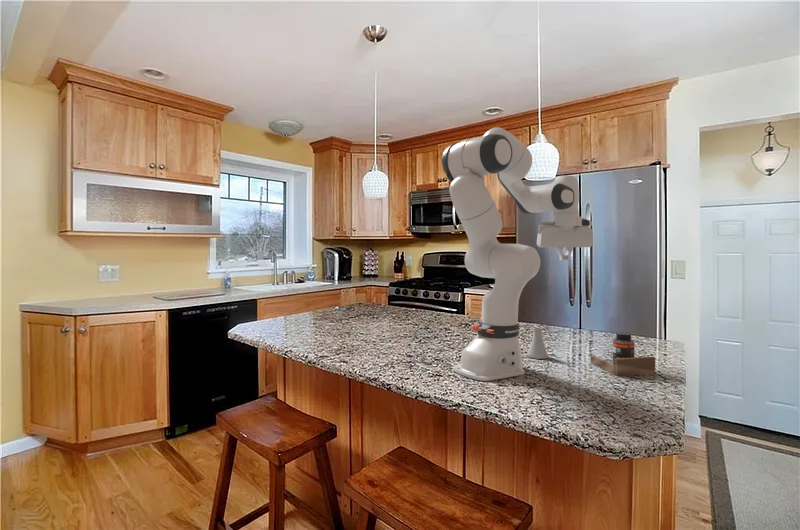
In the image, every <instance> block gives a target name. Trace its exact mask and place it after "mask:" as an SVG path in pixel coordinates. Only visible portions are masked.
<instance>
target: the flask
mask: <svg viewBox="0 0 800 530" xmlns="http://www.w3.org/2000/svg"><path fill="white" fill-rule="evenodd" d="M532 330H533V335H532V341H531V343H530V345H529V348H528V351H527V353H526V356H527V357H528V358H531V359H537V360H543V359H548V358H549V354H548V351H547V350H546V349H547V348H546V346H545V344H544V340H543V335H542V334H543V328H542V327H538V326H537V327H535V326H534V327H532Z"/></svg>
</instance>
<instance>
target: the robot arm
mask: <svg viewBox="0 0 800 530" xmlns="http://www.w3.org/2000/svg"><path fill="white" fill-rule="evenodd" d="M441 163H442V164H441V165H442V169H443V172H444V174H445V175H446V178H447V179H448V181H450V185H449V189H448V190H449V195H450V198H451V202H452V206H453V208H454V211H455V213H456V215H457V217H458V219H459V222H460V223H461V225H462V228H463V230H464V232H465V234H466V236H467V239H468V249H467V251H466V253H465V255H464V266H465V268H466V270H467V271H468V272H469V273H470V274H472V275H474V276H476V277H480V278H488V279H494V281H495V282H494V285H493V288H492V289H491V290H490V291H488V292H486V293H485V294H484V295H483V297H482V299H481V321H480V323H479V324H472V326H471V331H472V332H477V334H476V336H475V337H474V338H473V339H472V340H471V341H470V343H468V344H467V346H465V348H463V349H462V351H461V357H460V363H457V364H455V365H453V366H452V370H453V371H454V372H455V373H456V374H459V375H461V376H463V377H466V378H469V379H473V380H477V381H482V382H483V381H484V382H490V381H495V380H499V379H500V380H501V379H506V378H510V377H511V378H512V377H516V376H523V375H525V374H526V372H525V369H524V368H523V362H522V360H523V359H522V349H521V347H522V346H521V344H520V341H519V335H520V323H519V320H518V319H519V305H520V304H519V303H520V302H519V301H520V297H521V294H522V292H523V289H524V287H526V285H527V283H528V282H529V281H530V280H532V279H533V278H534V277H535V276H536V275H538V272H539V270H540V267H541V256H540V255H539V252H538V251H537V249H536V248H535V247H533V246H529V245H526V244H521V243H501V242H499V241H498V239H497V237H498V235H499V234H500V233H501V231H502V229H503V225H504V224H503V220H502V216H501V214H500V212H499V210H498V208H497V205H496V203H495V201H494V199H493V197H492V195H491V193H490V190H489V189H488V188H487V186H486V184H485V176H488V175H491V174H493V175H494V174H496V175H497V180H498V181H499V183H500V184H501V186H502V187H503V188H504V190H505V191H506V192H507V193H508V195H510V197H511V198H512V200H513V201H514V202H515V204H516V206H517V208H518V209H519V211H520V212H521V213H523V214H525V215H531V214H537V213H549V212H552V214H551V215H552V216H551V217H552V219H551V221H542V222H540V223H539V224H538V225H537V235H536V236H537V238H536V245H537V247H538V248H556V252H557V254H558V257H559V258H558V260H559V261H570V255H571V254H572V252H573V248H592V246H593V245H594V233H593V228H591V227H592V225H593V221H592V220H590V219H587V218H584V217H582V216H579V213H580V212H579V209H578V206H579V203H580V187H579V181H578V179H577V178H576V177H575V176H572V175H564V174H563V175H559V176H556V177H555V178H554V180H553V182H550V183H547V184H540V185H539V184H538V185H525V183H524V182H523V181H522V180H523V179H524V178H525V177H526V176H527V175H528V173H529V172H530V170H531V168H532V165H533V155H532V153H531V151H530V149H529V148H528V147H527V146H526V145H525V144H524V143H523V142H522V141H521V140H520V139H519V138H518V137H516V136H515V135H514V134H512V133H511V132H510V131H508V130H506V129H504V128H502V127H497V126H496V127H492V128H490V129H489V130H487V131H486V132H485V133H484V134H483V135H482V136H477V137H470V138H466V139H464V140H461V141H459V142H455V143H452V144H451V145H449V146H448V147H446V148H445V150H444V151H443V152H442V156H441ZM564 248H565V251H566V252H565V254H564V253H563V250H564Z"/></svg>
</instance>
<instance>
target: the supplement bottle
mask: <svg viewBox="0 0 800 530" xmlns="http://www.w3.org/2000/svg"><path fill="white" fill-rule="evenodd" d="M615 334H616V335H615V336H616V337H615V338H614V339H613V341H612V364H614V361H615V358H635V341H633V339H632V333H630V332H625V331H617V332H616V333H615Z"/></svg>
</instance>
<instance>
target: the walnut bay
mask: <svg viewBox="0 0 800 530" xmlns="http://www.w3.org/2000/svg"><path fill="white" fill-rule="evenodd" d="M590 365H593V366H595V367H597V366H598V367H597V368H599V367H600V368H599V369H601V368H602V369H601V370H603V369H604V371H605V370H606V371H605V372H607V371H608V373H609V372H610V374H611V373H612V374H611V375H613V374H614V376H616V377H628V376H631V377H632V376H647V375H649V376H650V375H655V374H656V357H654V356H641V357H640V356H639V357H638V356H637V357H635V356H634V358H615V361H614V364H613V362H612V363H611V362H609V361H607V360H605V359H602V358H600V357H598V356H596V355H591V356H590Z"/></svg>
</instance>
